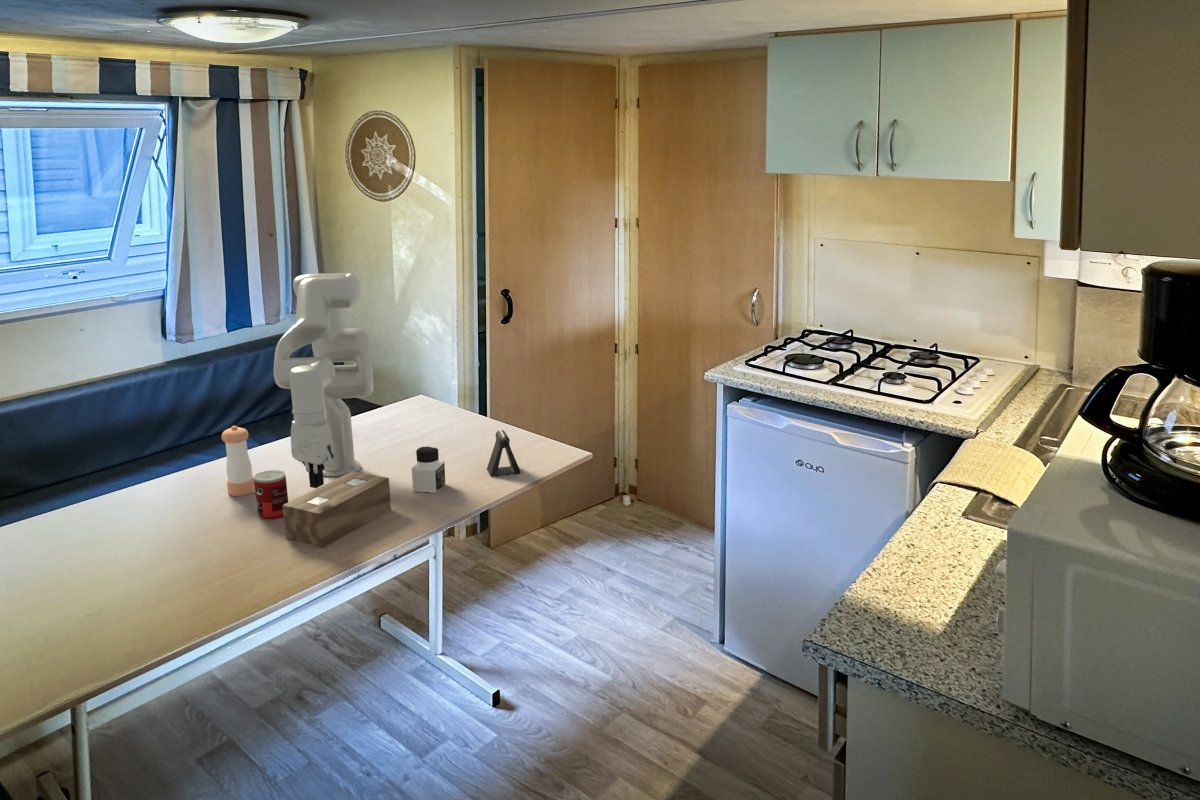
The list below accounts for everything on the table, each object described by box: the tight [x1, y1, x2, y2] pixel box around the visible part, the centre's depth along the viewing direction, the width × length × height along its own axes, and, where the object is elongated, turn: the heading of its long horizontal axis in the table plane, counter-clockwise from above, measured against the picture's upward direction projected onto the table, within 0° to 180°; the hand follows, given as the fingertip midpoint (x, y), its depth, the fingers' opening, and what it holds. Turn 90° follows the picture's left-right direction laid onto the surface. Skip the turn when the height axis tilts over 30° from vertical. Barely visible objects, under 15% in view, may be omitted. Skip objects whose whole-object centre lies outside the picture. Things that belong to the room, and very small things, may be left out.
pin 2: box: [345, 478, 367, 486], centre depth 252 cm, size 4×4×8 cm
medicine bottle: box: [411, 445, 446, 494], centre depth 269 cm, size 7×7×12 cm
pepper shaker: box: [221, 425, 255, 497], centre depth 267 cm, size 7×7×19 cm
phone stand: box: [486, 429, 522, 478], centre depth 281 cm, size 9×6×12 cm, turn 106°
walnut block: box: [282, 471, 392, 549], centre depth 246 cm, size 12×26×9 cm, turn 153°
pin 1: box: [306, 497, 330, 506], centre depth 240 cm, size 4×4×8 cm
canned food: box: [253, 469, 289, 521], centre depth 252 cm, size 8×8×11 cm
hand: (317, 485), depth 239 cm, fingers closed
